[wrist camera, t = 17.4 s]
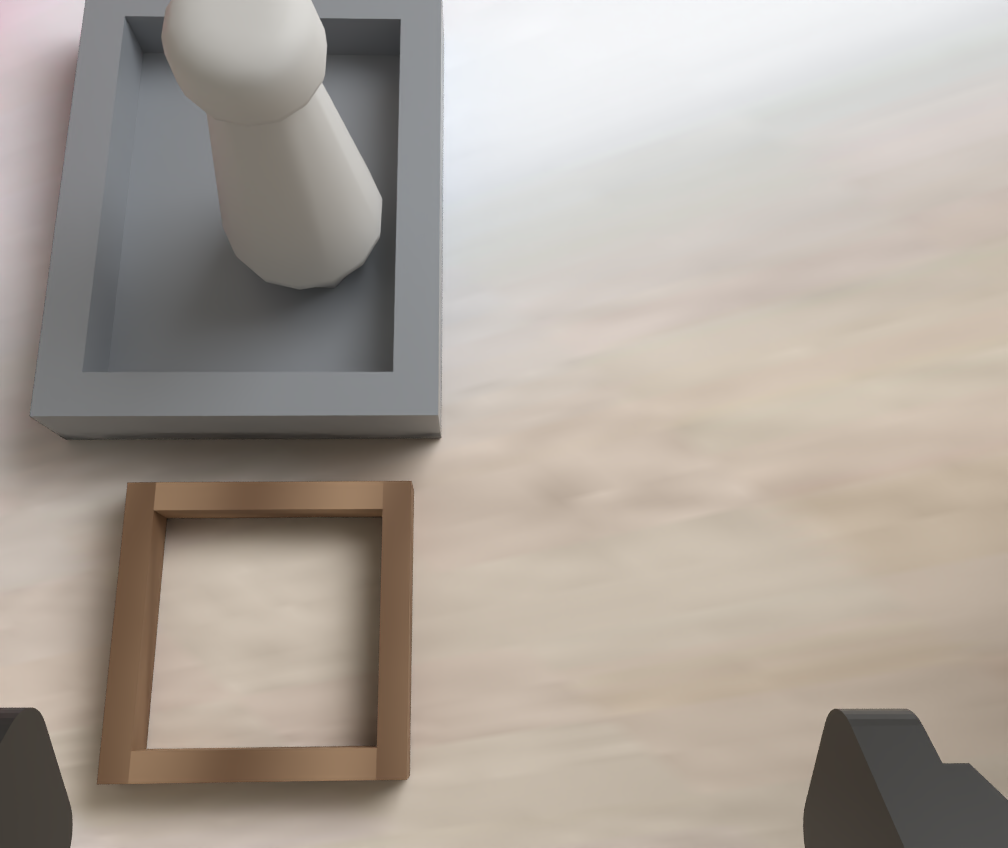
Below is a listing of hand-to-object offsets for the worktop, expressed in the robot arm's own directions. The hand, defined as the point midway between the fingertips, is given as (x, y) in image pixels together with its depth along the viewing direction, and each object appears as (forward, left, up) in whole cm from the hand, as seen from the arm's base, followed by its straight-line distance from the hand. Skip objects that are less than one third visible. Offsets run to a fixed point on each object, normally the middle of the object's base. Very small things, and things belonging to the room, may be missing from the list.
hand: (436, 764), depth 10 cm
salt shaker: (+6, -18, -24) cm, 30 cm away
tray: (+8, -19, -24) cm, 32 cm away
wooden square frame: (+7, -3, -24) cm, 25 cm away
